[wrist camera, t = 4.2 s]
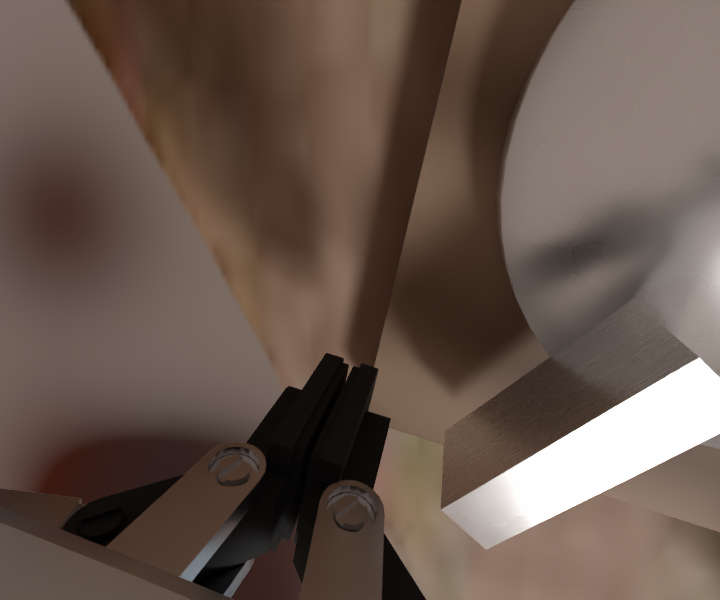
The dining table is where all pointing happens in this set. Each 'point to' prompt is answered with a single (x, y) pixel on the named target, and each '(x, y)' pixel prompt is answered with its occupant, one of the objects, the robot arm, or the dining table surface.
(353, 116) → the dining table surface
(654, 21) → the flange plate
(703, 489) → the base board
